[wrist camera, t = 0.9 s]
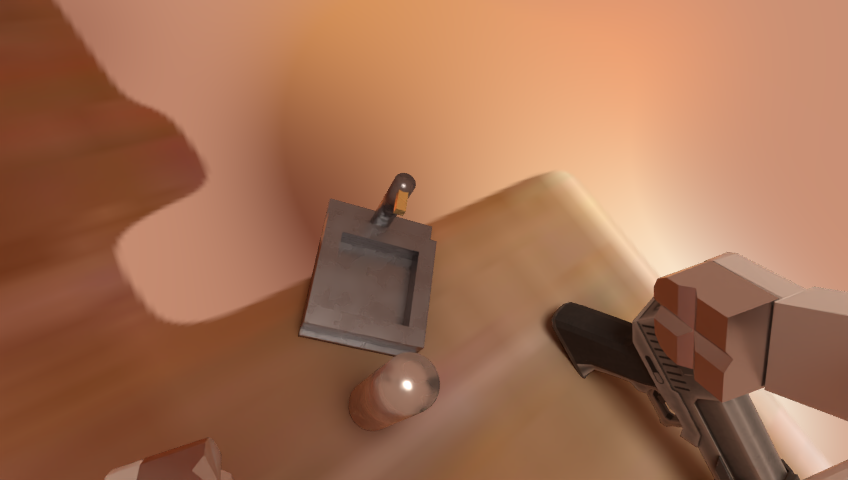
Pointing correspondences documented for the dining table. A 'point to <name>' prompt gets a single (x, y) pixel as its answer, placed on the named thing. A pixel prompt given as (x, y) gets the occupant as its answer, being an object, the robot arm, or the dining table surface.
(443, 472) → the dining table surface
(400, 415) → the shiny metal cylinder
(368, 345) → the keeper
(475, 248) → the dining table surface
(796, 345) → the robot arm
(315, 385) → the dining table surface
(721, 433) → the firearm
